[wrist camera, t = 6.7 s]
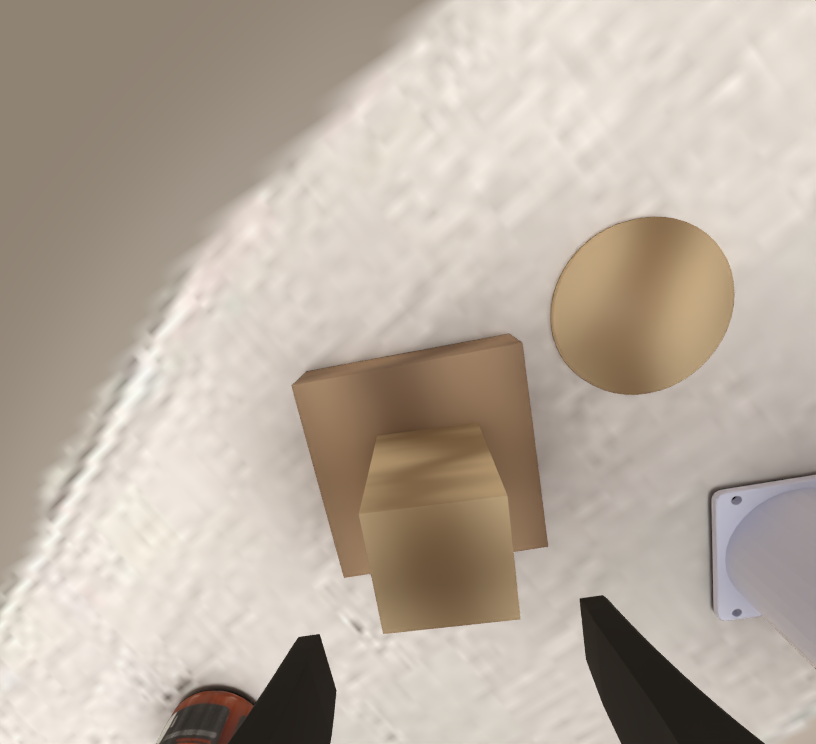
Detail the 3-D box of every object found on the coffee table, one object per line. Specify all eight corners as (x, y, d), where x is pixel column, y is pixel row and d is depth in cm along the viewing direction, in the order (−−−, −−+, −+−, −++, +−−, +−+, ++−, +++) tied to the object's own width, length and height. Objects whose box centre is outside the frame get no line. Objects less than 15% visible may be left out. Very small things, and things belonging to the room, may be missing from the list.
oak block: (477, 422, 18) (507, 496, 12) (488, 512, 19) (520, 619, 13) (377, 435, 18) (358, 514, 12) (393, 523, 19) (383, 634, 13)
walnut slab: (506, 331, 20) (522, 343, 17) (530, 510, 22) (548, 546, 19) (309, 369, 21) (291, 385, 18) (352, 538, 23) (343, 577, 20)
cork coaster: (725, 201, 18) (734, 199, 17) (727, 375, 20) (734, 377, 19) (541, 238, 18) (544, 237, 18) (560, 404, 20) (563, 408, 20)
